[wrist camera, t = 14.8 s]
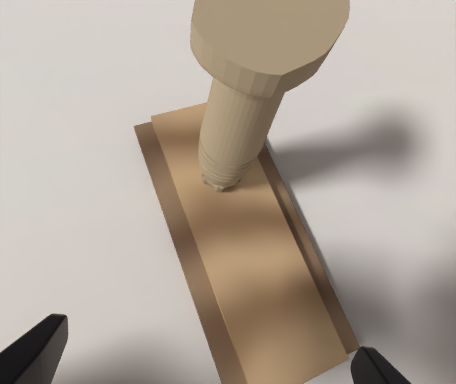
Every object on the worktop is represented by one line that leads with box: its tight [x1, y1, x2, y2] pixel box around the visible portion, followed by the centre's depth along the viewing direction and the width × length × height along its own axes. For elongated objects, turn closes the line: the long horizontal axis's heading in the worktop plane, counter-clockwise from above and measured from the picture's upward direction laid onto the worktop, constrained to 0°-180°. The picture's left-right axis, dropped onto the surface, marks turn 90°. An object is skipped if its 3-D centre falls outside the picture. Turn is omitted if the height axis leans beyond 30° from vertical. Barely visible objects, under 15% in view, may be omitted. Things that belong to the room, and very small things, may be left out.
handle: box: [190, 0, 350, 192], centre depth 17 cm, size 5×6×15 cm
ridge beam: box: [134, 103, 360, 384], centre depth 24 cm, size 22×10×2 cm, turn 22°
